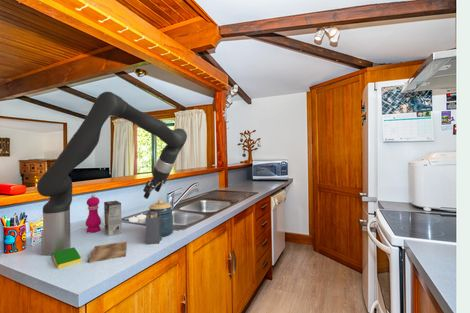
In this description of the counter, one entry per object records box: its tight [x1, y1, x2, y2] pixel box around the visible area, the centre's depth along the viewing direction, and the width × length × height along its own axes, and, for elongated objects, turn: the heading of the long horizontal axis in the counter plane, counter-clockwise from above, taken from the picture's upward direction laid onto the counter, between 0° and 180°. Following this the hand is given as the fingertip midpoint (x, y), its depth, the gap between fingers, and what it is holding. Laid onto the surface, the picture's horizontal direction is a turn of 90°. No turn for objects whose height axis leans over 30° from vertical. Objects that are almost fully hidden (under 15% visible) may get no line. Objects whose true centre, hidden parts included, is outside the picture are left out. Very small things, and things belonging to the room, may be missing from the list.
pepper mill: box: [85, 194, 102, 234], centre depth 124 cm, size 7×7×20 cm
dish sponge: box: [52, 246, 82, 270], centre depth 89 cm, size 7×14×2 cm, turn 44°
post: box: [150, 212, 157, 218], centre depth 106 cm, size 2×2×14 cm
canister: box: [146, 199, 175, 238], centre depth 118 cm, size 13×13×18 cm
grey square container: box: [145, 214, 163, 245], centre depth 107 cm, size 6×7×12 cm
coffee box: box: [103, 200, 123, 237], centre depth 120 cm, size 9×6×16 cm
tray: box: [89, 241, 128, 263], centre depth 94 cm, size 12×12×2 cm
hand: (151, 194), depth 110 cm, fingers open, 8 cm apart
